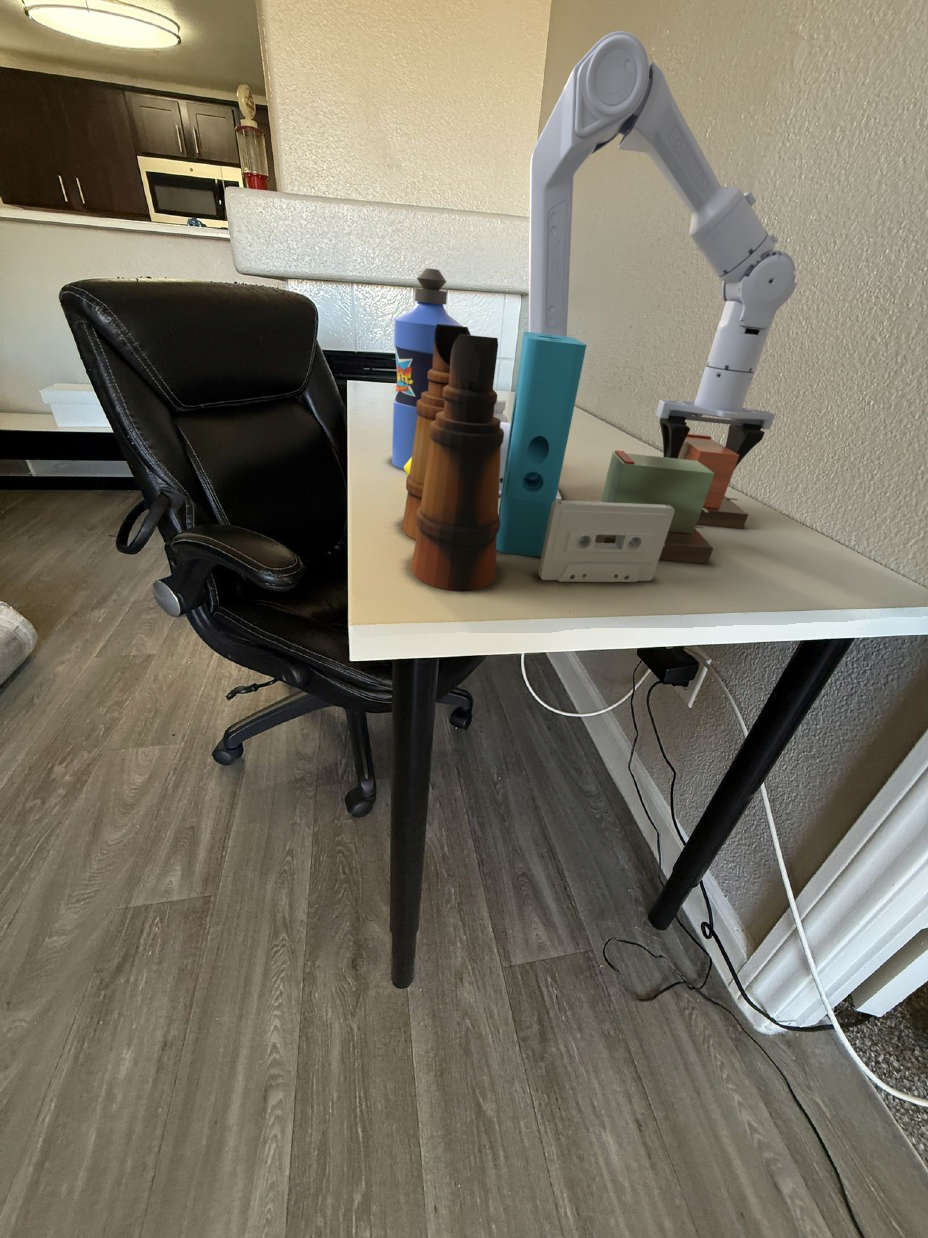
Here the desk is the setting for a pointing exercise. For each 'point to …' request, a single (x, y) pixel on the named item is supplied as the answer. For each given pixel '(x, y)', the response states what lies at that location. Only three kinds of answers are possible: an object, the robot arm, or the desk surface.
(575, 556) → the cassette
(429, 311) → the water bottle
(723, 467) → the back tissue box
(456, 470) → the binoculars
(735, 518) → the back stand
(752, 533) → the desk surface
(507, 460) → the block
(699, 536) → the front stand
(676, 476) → the green box
